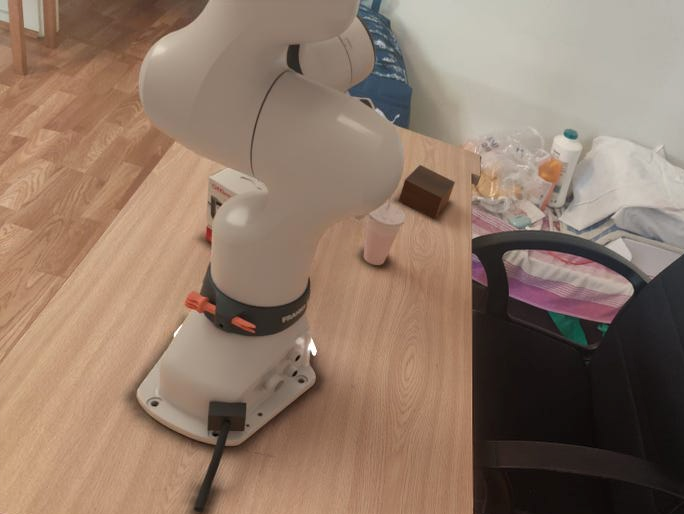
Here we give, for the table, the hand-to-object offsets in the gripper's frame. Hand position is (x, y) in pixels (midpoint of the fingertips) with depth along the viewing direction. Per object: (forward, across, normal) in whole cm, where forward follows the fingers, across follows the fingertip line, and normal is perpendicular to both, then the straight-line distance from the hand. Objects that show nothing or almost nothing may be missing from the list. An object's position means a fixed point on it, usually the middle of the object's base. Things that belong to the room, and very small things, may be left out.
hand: (375, 204), depth 98 cm
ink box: (-4, -13, +18) cm, 23 cm away
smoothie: (+9, 0, +6) cm, 10 cm away
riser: (+9, +24, +6) cm, 26 cm away
